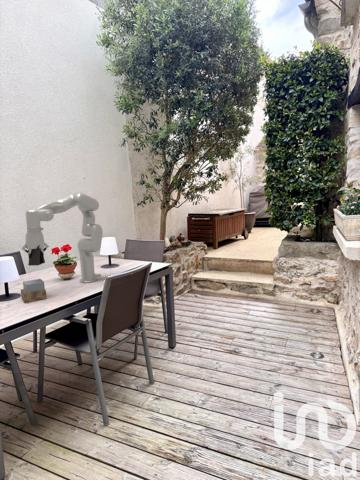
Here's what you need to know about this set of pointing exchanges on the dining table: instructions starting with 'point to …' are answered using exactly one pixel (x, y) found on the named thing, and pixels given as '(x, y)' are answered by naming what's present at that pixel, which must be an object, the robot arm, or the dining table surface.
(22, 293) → the base block
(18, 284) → the dining table surface
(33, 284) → the top block
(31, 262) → the phone stand
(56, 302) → the dining table surface
